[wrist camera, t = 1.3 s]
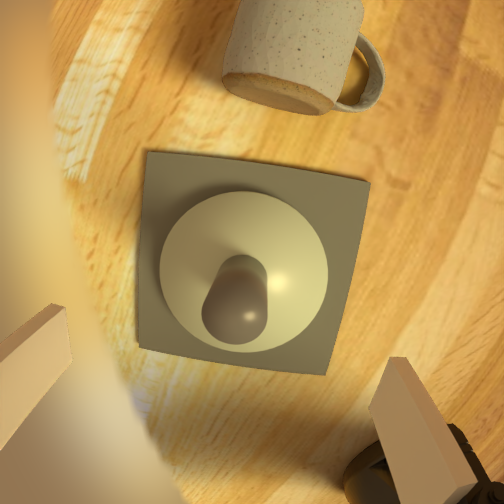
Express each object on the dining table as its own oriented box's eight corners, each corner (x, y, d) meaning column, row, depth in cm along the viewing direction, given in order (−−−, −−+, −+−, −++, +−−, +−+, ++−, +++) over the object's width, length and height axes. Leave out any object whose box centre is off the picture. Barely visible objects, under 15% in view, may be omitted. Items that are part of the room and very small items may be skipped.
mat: (324, 372, 26) (325, 375, 26) (140, 344, 26) (138, 347, 26) (368, 182, 22) (370, 182, 22) (149, 151, 22) (147, 151, 22)
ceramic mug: (222, 101, 21) (204, 72, 14) (250, 7, 19) (245, -49, 12) (365, 140, 22) (411, 131, 14) (385, 45, 19) (428, 7, 12)
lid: (307, 354, 25) (319, 410, 18) (161, 332, 25) (130, 382, 18) (339, 205, 22) (369, 220, 15) (170, 181, 22) (131, 187, 15)
